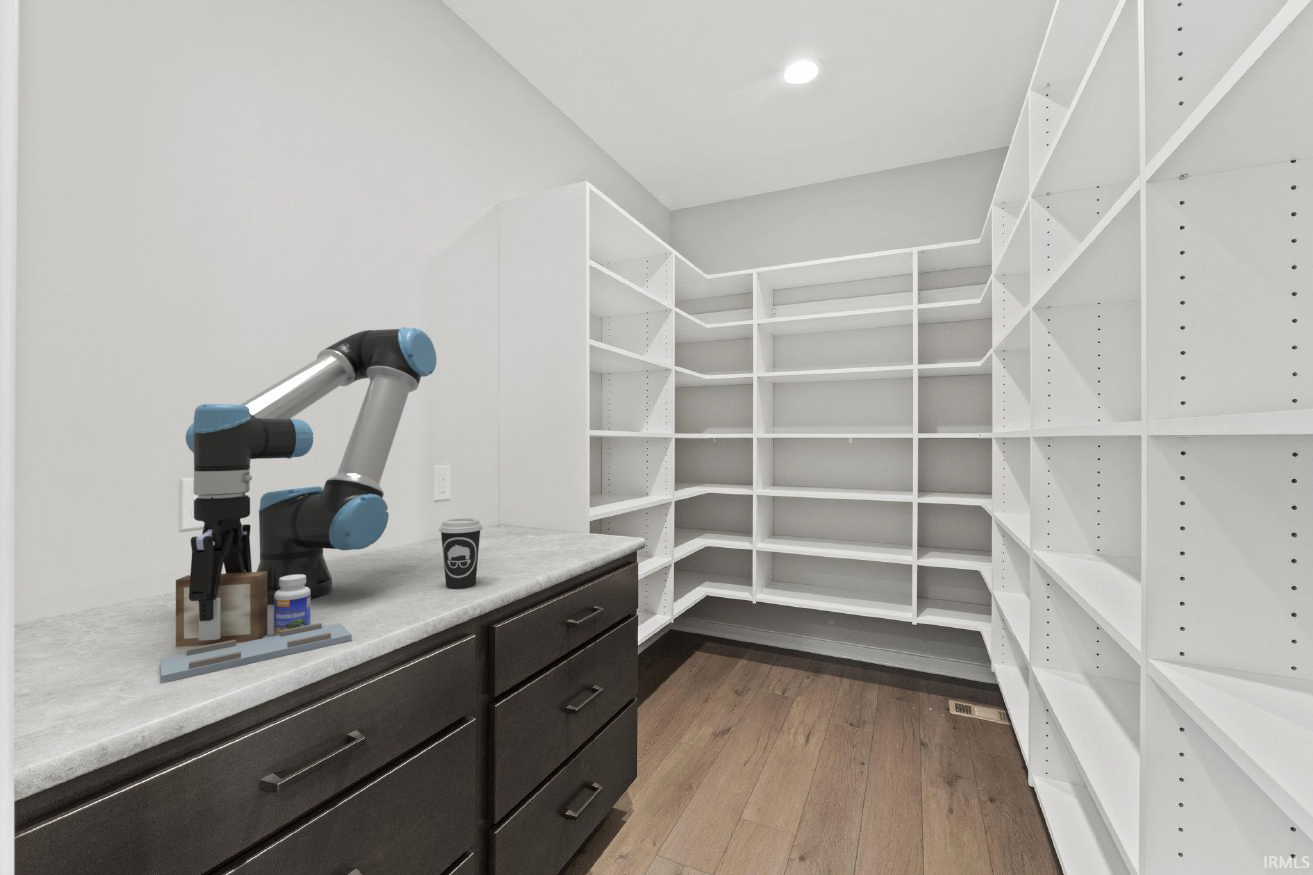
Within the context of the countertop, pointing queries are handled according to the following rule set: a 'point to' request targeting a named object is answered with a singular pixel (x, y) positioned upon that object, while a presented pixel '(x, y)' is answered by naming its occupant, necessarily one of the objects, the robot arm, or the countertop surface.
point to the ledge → (251, 650)
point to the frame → (225, 609)
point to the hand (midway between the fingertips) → (222, 630)
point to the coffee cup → (460, 551)
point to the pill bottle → (291, 603)
